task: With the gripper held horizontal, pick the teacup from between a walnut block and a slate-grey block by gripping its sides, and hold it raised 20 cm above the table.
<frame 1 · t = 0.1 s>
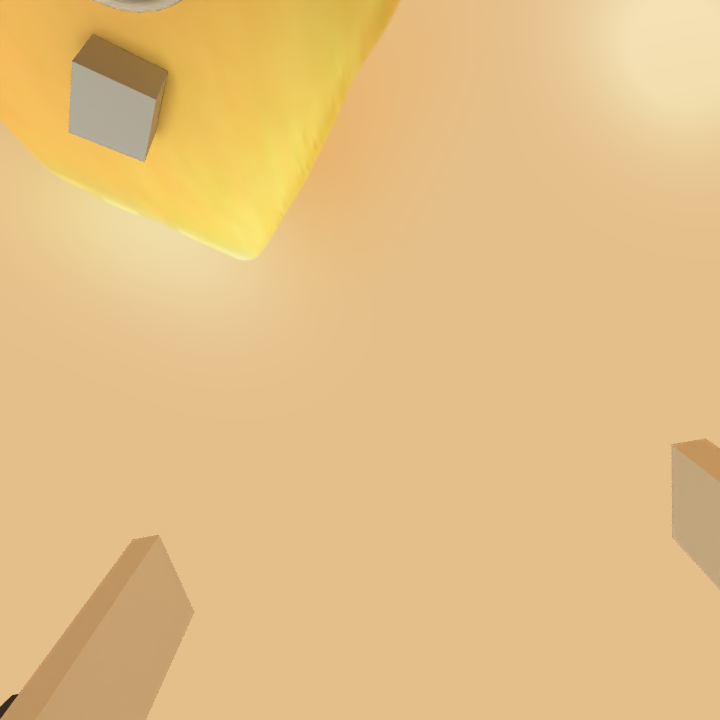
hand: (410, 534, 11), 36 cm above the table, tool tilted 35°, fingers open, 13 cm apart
slate block: (127, 86, 34), on the table
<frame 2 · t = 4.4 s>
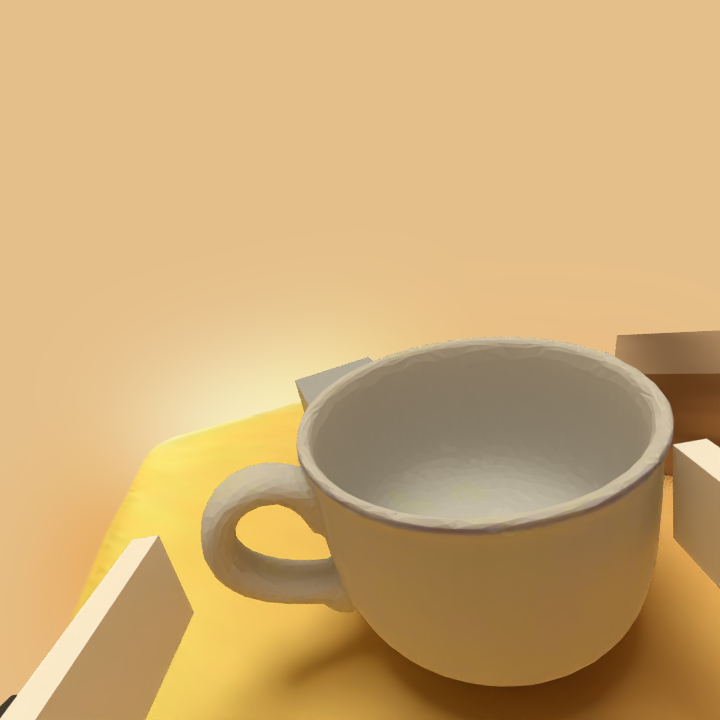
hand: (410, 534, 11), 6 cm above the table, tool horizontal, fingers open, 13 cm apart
slate block: (360, 451, 28), on the table
teacup: (452, 601, 16), on the table, touching gripper
walnut block: (680, 447, 21), on the table
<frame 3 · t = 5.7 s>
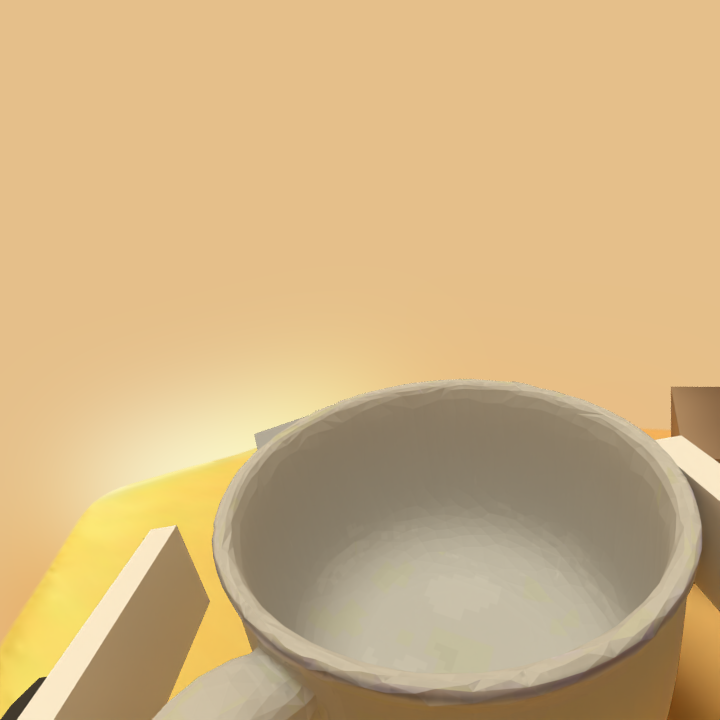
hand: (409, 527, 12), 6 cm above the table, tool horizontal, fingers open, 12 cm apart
slate block: (337, 524, 22), on the table
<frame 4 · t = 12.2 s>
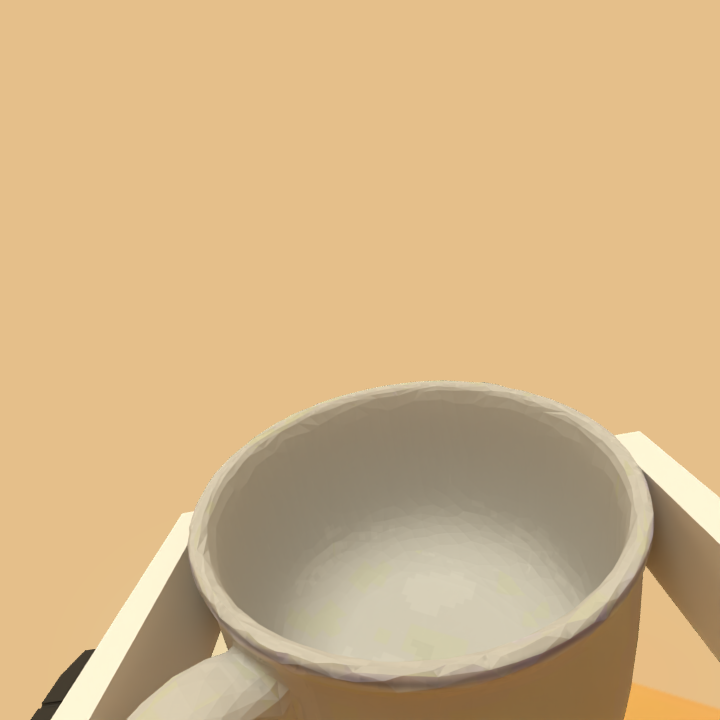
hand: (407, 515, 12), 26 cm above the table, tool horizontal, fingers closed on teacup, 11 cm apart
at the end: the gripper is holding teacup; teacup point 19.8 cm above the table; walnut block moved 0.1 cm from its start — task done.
